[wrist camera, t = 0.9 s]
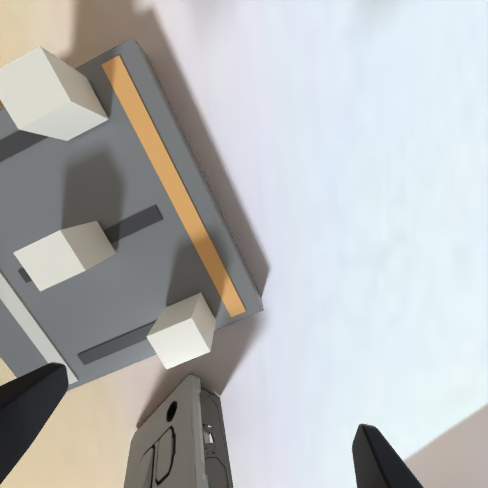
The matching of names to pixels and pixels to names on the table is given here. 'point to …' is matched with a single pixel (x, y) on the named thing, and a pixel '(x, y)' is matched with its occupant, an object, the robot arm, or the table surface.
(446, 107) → the table surface
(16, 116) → the handle
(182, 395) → the electrical switch
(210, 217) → the breaker panel
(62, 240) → the handle middle
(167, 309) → the handle
